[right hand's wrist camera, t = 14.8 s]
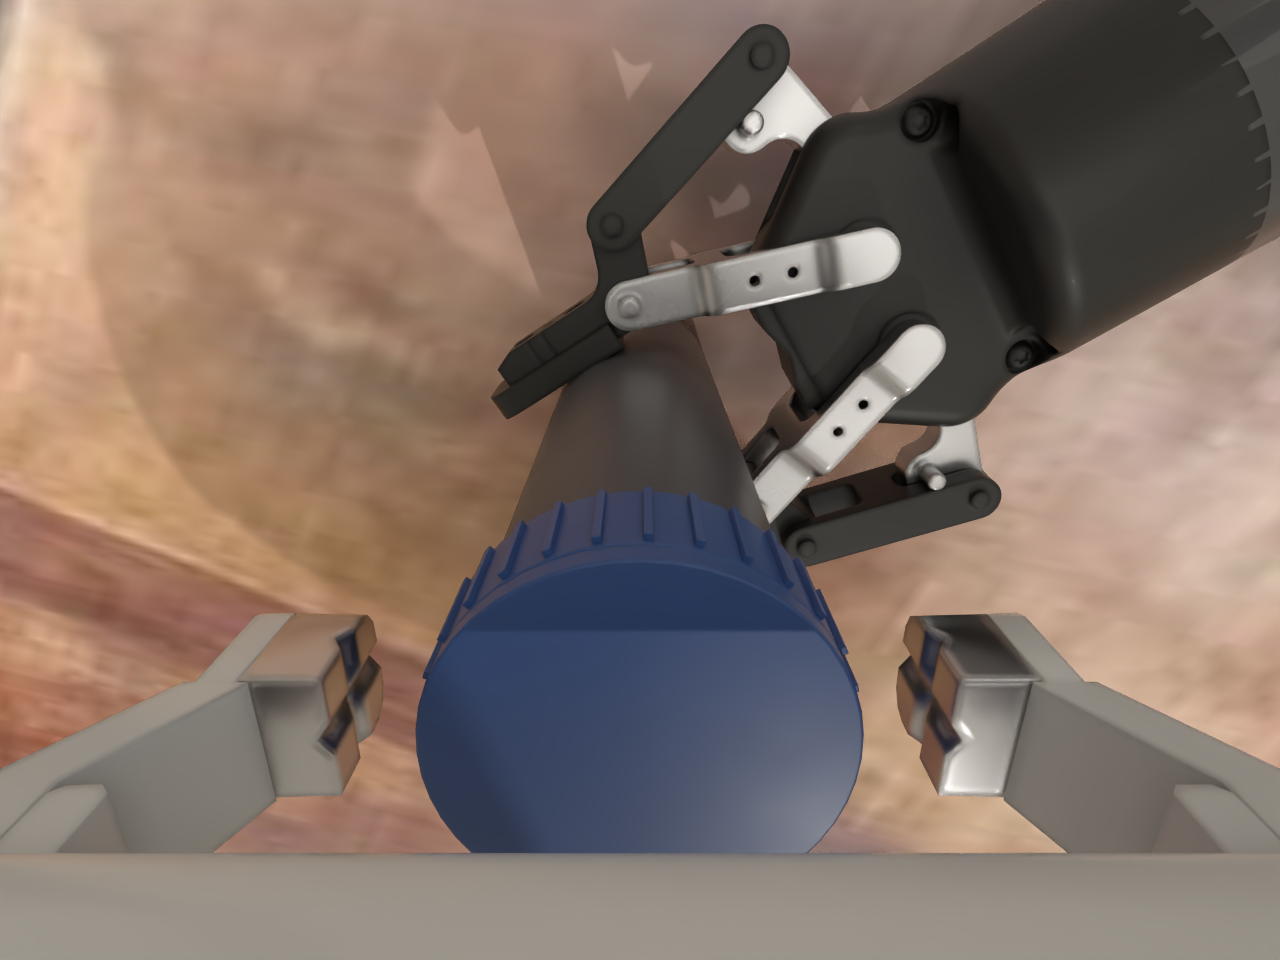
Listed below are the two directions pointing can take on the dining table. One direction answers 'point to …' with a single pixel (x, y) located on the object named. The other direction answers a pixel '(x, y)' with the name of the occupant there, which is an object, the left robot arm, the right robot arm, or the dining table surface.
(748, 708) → the lid
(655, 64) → the dining table surface
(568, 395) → the dark grey bottle
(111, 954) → the right robot arm
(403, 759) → the dining table surface
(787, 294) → the left robot arm
